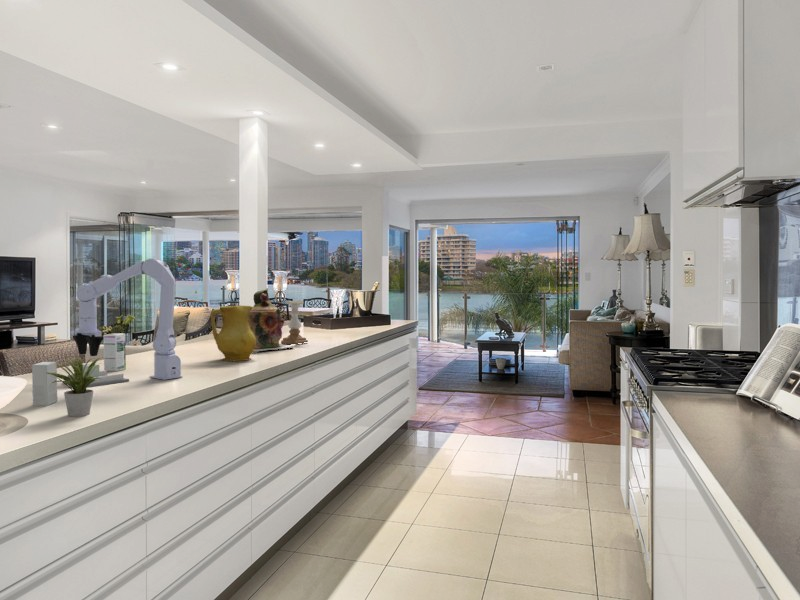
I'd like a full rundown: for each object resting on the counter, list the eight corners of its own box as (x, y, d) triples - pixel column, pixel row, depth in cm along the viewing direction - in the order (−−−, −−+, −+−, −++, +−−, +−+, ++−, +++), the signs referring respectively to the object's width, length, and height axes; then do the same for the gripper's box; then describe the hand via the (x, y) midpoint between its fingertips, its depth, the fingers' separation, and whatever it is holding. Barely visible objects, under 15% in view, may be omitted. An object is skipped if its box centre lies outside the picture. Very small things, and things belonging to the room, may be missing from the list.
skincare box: (42, 401, 179) (42, 361, 179) (57, 401, 179) (57, 361, 179) (31, 406, 173) (31, 364, 173) (47, 406, 173) (47, 364, 173)
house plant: (81, 406, 174) (80, 349, 173) (120, 409, 170) (120, 352, 169) (38, 417, 160) (38, 355, 159) (80, 421, 156) (80, 358, 155)
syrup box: (116, 371, 236) (116, 334, 236) (103, 370, 238) (103, 334, 237) (126, 369, 242) (125, 333, 241) (113, 368, 243) (112, 332, 243)
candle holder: (295, 345, 335) (295, 302, 334) (280, 343, 341) (280, 301, 340) (308, 343, 344) (308, 301, 343) (294, 342, 350) (294, 301, 349)
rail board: (129, 381, 215) (129, 373, 215) (84, 387, 202) (84, 379, 202) (107, 377, 223) (107, 369, 223) (63, 383, 210) (62, 375, 210)
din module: (99, 380, 211) (99, 365, 211) (85, 382, 207) (85, 366, 207) (93, 379, 213) (93, 363, 213) (79, 381, 209) (79, 365, 209)
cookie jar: (229, 348, 316) (229, 287, 315) (267, 345, 335) (268, 287, 334) (258, 353, 300) (258, 288, 299) (296, 349, 319) (297, 288, 318)
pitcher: (242, 362, 264) (241, 304, 264) (206, 361, 270) (205, 306, 270) (263, 358, 280) (262, 304, 280) (229, 358, 286) (228, 305, 286)
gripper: (66, 317, 221) (66, 354, 221) (87, 319, 213) (87, 357, 213) (85, 316, 227) (85, 352, 227) (107, 318, 219) (107, 355, 219)
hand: (88, 355), depth 221 cm, fingers open, 7 cm apart
